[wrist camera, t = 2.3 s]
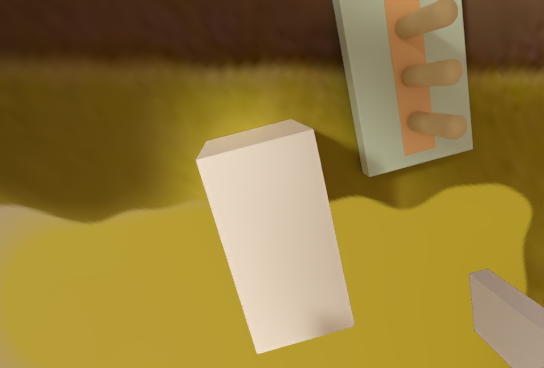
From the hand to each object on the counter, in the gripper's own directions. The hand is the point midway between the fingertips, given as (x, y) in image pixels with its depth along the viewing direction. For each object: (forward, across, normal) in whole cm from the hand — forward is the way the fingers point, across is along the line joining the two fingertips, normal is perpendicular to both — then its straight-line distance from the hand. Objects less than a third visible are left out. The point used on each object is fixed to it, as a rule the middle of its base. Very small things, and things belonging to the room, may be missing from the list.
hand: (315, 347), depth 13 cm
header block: (+16, +13, +8) cm, 22 cm away
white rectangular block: (+16, 0, 0) cm, 17 cm away
